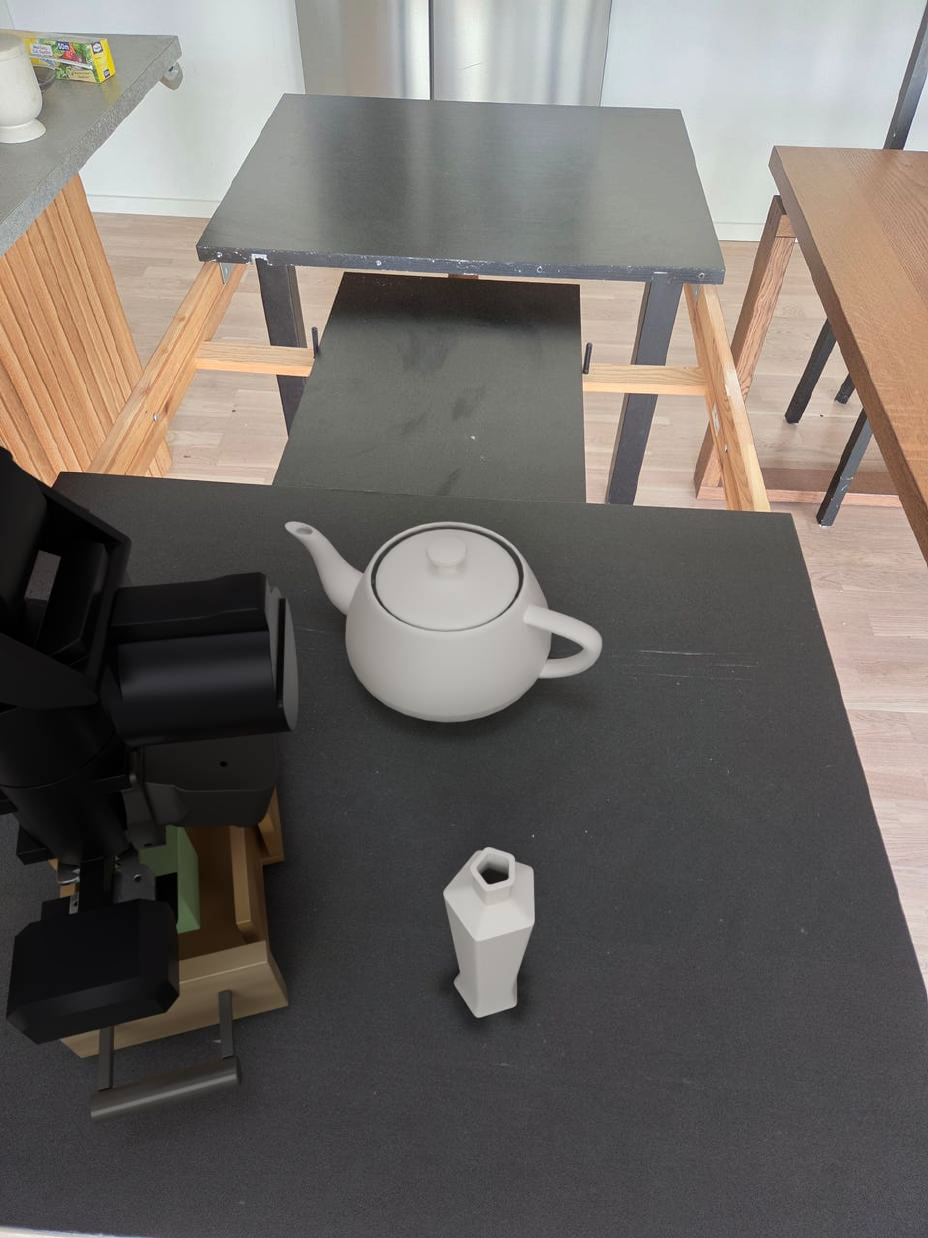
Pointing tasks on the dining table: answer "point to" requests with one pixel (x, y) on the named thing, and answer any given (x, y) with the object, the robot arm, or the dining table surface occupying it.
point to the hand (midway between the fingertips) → (152, 893)
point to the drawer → (200, 980)
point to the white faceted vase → (490, 928)
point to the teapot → (447, 621)
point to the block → (184, 862)
